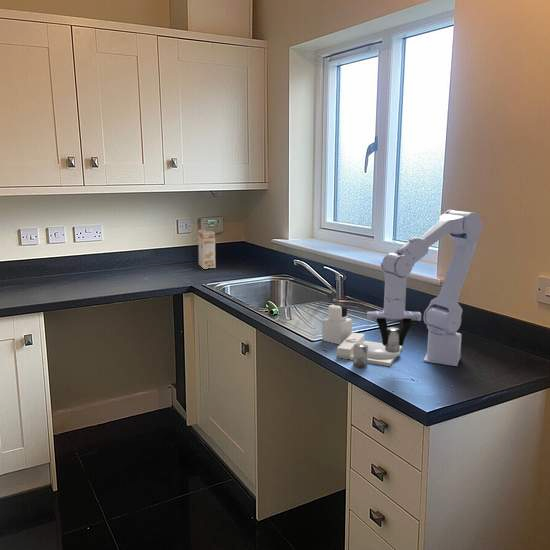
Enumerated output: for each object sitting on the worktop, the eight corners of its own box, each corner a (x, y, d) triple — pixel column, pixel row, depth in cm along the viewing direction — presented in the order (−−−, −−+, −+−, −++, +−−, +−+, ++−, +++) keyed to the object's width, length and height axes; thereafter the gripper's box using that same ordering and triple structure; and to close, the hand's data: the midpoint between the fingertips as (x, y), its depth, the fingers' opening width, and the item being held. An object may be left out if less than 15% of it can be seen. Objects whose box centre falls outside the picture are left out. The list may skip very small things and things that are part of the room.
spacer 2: (401, 349, 157) (402, 328, 156) (397, 353, 154) (399, 332, 152) (386, 346, 159) (387, 326, 158) (383, 351, 155) (384, 330, 154)
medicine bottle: (333, 335, 188) (334, 300, 185) (352, 339, 183) (353, 304, 181) (321, 340, 182) (322, 305, 180) (340, 345, 178) (341, 309, 175)
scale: (405, 349, 174) (405, 338, 174) (393, 366, 160) (394, 355, 159) (352, 341, 181) (352, 331, 181) (336, 357, 167) (337, 346, 166)
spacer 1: (368, 364, 162) (369, 344, 161) (365, 369, 159) (365, 348, 157) (355, 362, 164) (356, 342, 162) (351, 366, 160) (352, 346, 159)
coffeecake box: (216, 269, 294) (215, 232, 290) (202, 270, 292) (201, 233, 288) (211, 264, 308) (210, 229, 304) (198, 264, 306) (197, 229, 302)
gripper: (418, 293, 157) (415, 340, 160) (366, 293, 157) (364, 339, 160) (424, 300, 150) (421, 348, 153) (369, 299, 150) (367, 347, 153)
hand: (392, 344), depth 156 cm, fingers closed on spacer 2, 4 cm apart
